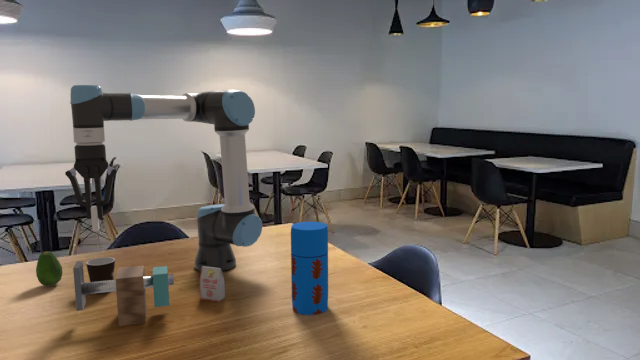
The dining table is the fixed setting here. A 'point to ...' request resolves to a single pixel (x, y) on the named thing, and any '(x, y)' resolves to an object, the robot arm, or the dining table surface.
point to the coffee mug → (101, 269)
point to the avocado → (48, 269)
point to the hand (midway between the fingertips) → (96, 230)
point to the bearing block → (131, 295)
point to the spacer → (160, 286)
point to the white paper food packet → (211, 284)
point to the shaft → (100, 285)
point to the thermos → (309, 267)
